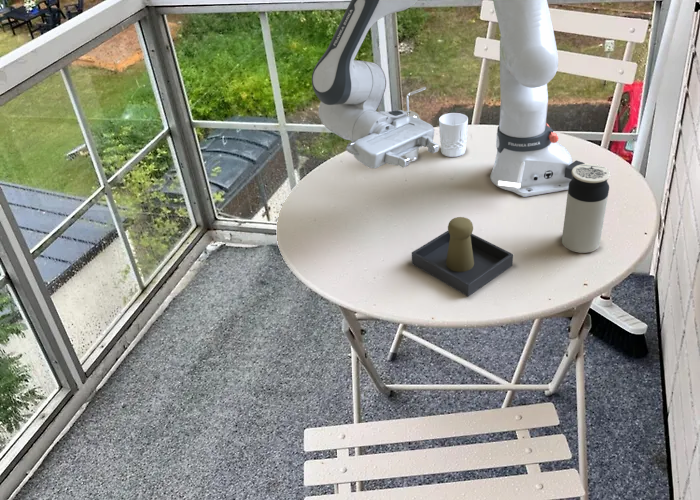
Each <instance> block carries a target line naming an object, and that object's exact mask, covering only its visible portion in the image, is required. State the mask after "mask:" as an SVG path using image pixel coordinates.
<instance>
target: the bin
mask: <svg viewBox="0 0 700 500" xmlns="http://www.w3.org/2000/svg"><path fill="white" fill-rule="evenodd" d="M470 236H471V244H472V251H473V258H474V266H473V267H472V269H470V270H468V271H464V272H457V271H453V270H451V269H449V268H448V267H447V266H446V260H447V253H448V247H449V241H450V234H449V232H448V230H446V231H444V232H443V233H441V234H439V235H438V236H436V237H434V238H433V239H432V240H430V241H428V242H427V243H424V244H423V245H421V246H420V247H418V248H416V249H415V250H413V251H412V252H411V265H413V266H415V267H416V268H418V269H420V270H422V271H423V272H425V273H427V274H429V275H430V276H432V277H433V278H435V279H437V280H439V281H440V282H442V283H444V284H445V285H447V286H449V287H451V288H453V289H454V290H456V291H457V292H459V293H461V294H463V295H464V296H466V297H470V296H471V295H473V294H475V293H476V292H477V291H479V290H480V289H482V288H483V287H484V286H486V285H487V284H488V283H490V282H492V281H493V280H494V279H496V278H497V277H498V276H500V275H501V274H503V273H504V272H506V271H507V270H509V269H510V268H511V267H512V266H513V261H514V253H511V252H510V251H508V250H506V249H504V248H502V247H500V246H498V245H496V244H495V243H492V242H489V241H488V240H486V239H483V238H482V237H479V236H477V235H475V234H473V233H472V234H471V235H470Z"/></svg>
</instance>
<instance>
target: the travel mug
mask: <svg viewBox="0 0 700 500" xmlns="http://www.w3.org/2000/svg"><path fill="white" fill-rule="evenodd" d="M572 175H573V179H572V180H571V181H570V182H569V187H568V190H567V196H566V204H565V212H564V221H563V228H562V236H561V243H562V245H563V246H564V248H566V249H567V250H569V251H571V252H576V253H581V254H584V253H591V252H594V251H596V250H598V249H599V248H600V245H601V239H602V234H603V228H604V222H605V217H606V210H607V204H608V199H609V192H610V185H609V182H608V180H609V178H610V177H611V172H610V170H609V169H608V168H607V167H605V166H603V165H601V164H597V163H585V164H580V165H577V166H575V167H574V168H573V169H572Z"/></svg>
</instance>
